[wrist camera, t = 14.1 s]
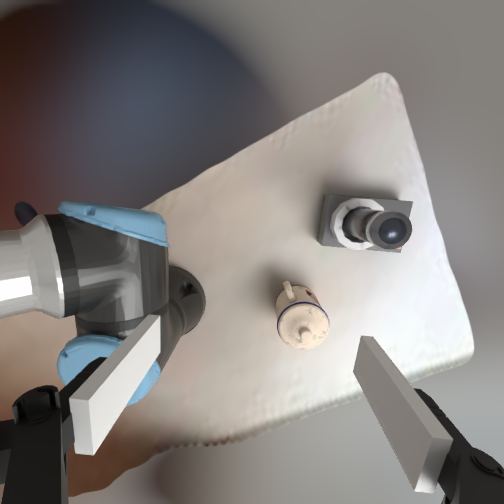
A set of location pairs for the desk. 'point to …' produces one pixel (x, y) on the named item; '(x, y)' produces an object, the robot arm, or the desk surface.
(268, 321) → the desk surface
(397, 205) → the camera body
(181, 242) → the desk surface
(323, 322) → the teacup with lid
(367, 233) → the grey flashlight
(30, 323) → the desk surface
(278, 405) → the desk surface
